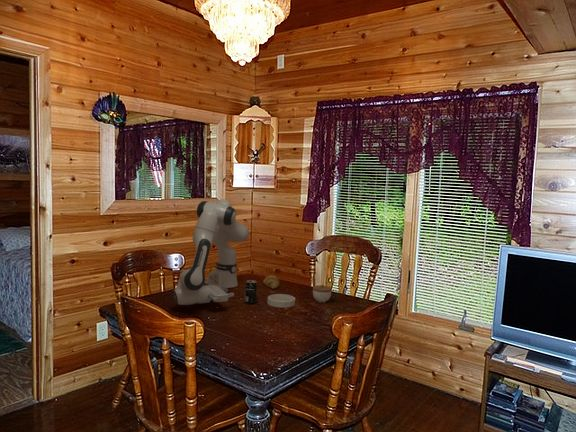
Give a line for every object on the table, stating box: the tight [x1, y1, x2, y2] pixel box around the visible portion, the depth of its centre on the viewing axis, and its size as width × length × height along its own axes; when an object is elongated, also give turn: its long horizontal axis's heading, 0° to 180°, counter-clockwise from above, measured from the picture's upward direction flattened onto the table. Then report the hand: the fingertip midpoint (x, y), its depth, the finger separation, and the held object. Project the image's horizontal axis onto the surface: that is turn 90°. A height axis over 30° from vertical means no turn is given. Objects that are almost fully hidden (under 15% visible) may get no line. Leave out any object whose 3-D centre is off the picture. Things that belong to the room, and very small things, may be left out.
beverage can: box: [244, 279, 258, 305], centre depth 230 cm, size 7×7×12 cm
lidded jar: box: [312, 284, 332, 303], centre depth 240 cm, size 11×11×9 cm
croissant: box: [263, 274, 280, 290], centre depth 269 cm, size 21×10×8 cm, turn 11°
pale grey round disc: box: [266, 293, 296, 308], centre depth 232 cm, size 15×15×3 cm
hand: (230, 292), depth 225 cm, fingers open, 8 cm apart
